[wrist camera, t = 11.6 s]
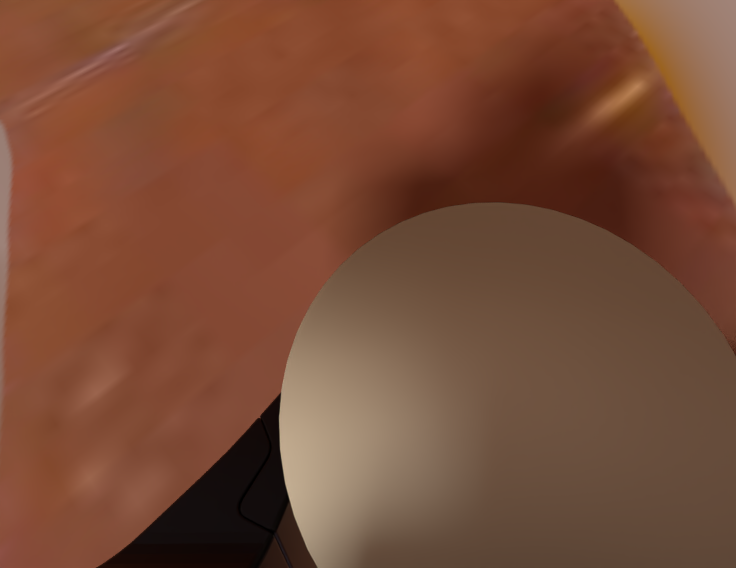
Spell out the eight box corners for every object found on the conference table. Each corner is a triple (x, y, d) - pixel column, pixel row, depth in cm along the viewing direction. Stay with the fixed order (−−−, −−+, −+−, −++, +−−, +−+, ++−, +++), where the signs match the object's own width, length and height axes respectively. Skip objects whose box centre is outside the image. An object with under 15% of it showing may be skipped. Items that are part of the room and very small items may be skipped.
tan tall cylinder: (445, 445, 13) (760, 857, 2) (362, 412, 14) (201, 564, 2) (468, 360, 14) (781, 268, 3) (389, 332, 15) (367, 162, 3)
